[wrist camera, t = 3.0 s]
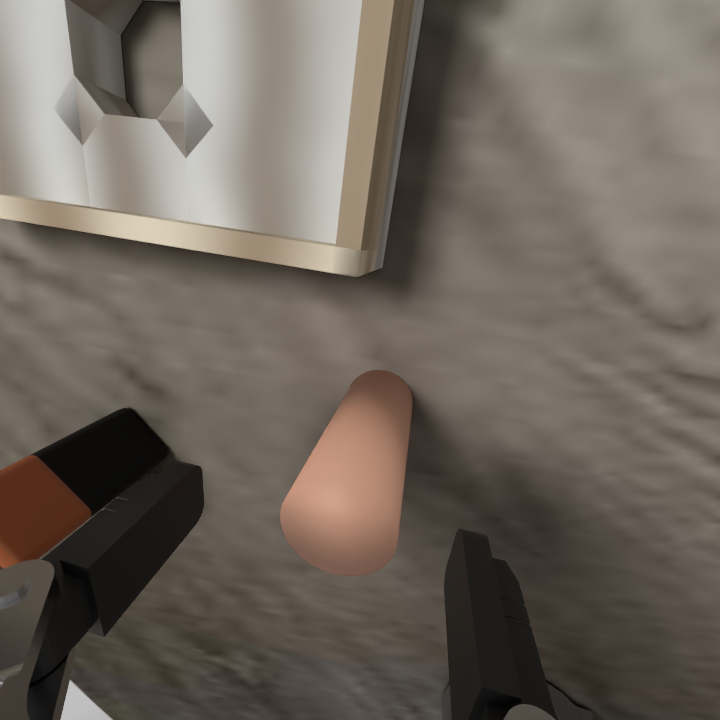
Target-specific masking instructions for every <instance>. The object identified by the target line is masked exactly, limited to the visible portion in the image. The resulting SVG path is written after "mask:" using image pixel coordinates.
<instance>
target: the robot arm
mask: <svg viewBox="0 0 720 720" xmlns="http://www.w3.org/2000/svg"><path fill="white" fill-rule="evenodd" d="M203 507H204V494H203V477H202V469H201V467H200V466H197V465H193V464H189V463H185V462H181V461H174V462H172V463H171V464H170V465H168V466H167V467H166V468H165V469H164V470H163V471H162V472H160V473H159V474H158V475H157V474H152V475H150V476H148V477H146V478H144V479H142V480H140V481H138V482H136V483H134V484H133V485H131V486H130V487H129V488H128V489H127V490H125V491H124V492H123V493H122V494H121V495H119V496H118V499H114V500H113V501H112V502H111V503H110V504H108V505H107V506H106V507H105V509H104V510H103V511H102V510H101V511H100V512H99V513H98V514H96V515H95V516H94V517H93V518H91V519H90V520H89V521H88V522H87V523H85V524H84V525H83V526H82V527H81V528H79V529H78V530H77V531H76V532H75V533H73V534H72V535H71V536H70V537H68V538H67V539H66V540H65V541H64V542H62V543H61V544H60V545H59V546H58V547H56V548H55V549H54V550H53V551H51V552H50V553H49V554H48V555H46V556H45V557H44V558H42V559H41V560H28V561H23V562H20V563H16V564H14V565H11V566H9V567H6V568H4V569H2V570H0V720H60V719H61V714H62V710H63V706H64V701H65V697H66V693H67V689H68V684H69V680H70V676H71V672H72V668H73V663H74V659H75V655H76V644H77V643H78V642H79V641H80V639H81V638H82V637H83V636H84V635H85V634H86V632H87V631H88V632H91V633H94V634H97V635H100V636H103V637H105V635H106V634H107V633H108V632H109V630H110V629H111V628H112V627H113V625H114V624H115V623H116V622H117V621H118V619H119V618H120V617H121V616H122V614H123V613H124V612H125V611H126V610H127V608H128V607H129V606H130V605H131V603H132V602H133V601H134V600H135V598H136V597H137V596H138V595H139V594H140V592H141V591H142V590H143V589H144V587H145V586H146V585H147V584H148V583H149V581H150V580H151V579H152V578H153V576H154V575H155V574H156V573H157V571H158V570H159V569H160V568H161V567H162V565H163V564H164V563H165V562H166V560H167V559H168V558H169V557H170V556H171V554H172V553H173V552H174V551H175V549H176V548H177V547H178V546H179V544H180V543H181V542H182V541H183V540H184V538H185V537H186V536H187V535H188V533H189V532H190V531H191V530H192V529H193V527H194V526H195V525H196V523H197V522H198V520H199V518H200V516H201V514H202V511H203ZM444 593H445V610H446V627H447V645H448V662H449V680H450V685H448V687H447V688H446V690H445V692H444V694H443V699H442V715H443V720H594V717H593V714H592V712H591V711H588V710H585V709H582V708H580V707H577V706H575V705H574V704H573V703H572V702H571V701H570V700H569V699H568V698H567V697H566V696H565V695H564V694H563V693H561V692H560V691H558V690H557V689H555V688H554V687H552V686H551V685H549V684H547V683H546V679H545V676H544V672H543V668H542V665H541V661H540V658H539V654H538V650H537V647H536V643H535V640H534V636H533V632H532V629H531V627H530V625H529V623H530V622H529V618H528V614H527V611H526V608H525V607H524V600H523V596H522V593H521V589H520V586H519V582H518V580H517V579H516V577H515V575H514V574H513V572H512V571H511V569H510V568H509V566H508V565H507V563H506V561H503V560H499V559H495V558H492V555H491V550H490V545H489V541H488V538H487V536H486V535H484V534H479V533H475V532H471V531H467V530H463V529H458V531H457V533H456V536H455V540H454V543H453V546H452V550H451V553H450V556H449V560H448V563H447V567H446V572H445V583H444Z"/></svg>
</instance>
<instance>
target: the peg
mask: <svg viewBox="0 0 720 720" xmlns="http://www.w3.org/2000/svg"><path fill="white" fill-rule="evenodd" d="M412 406H413V399H412V394H411V391H410V389H409V387H408V386H407V384H406V383H405V382H404V381H403V380H402V379H401V378H400V377H398V376H397V375H395V374H393V373H390V372H387V371H382V370H374V371H369V372H366V373H363V374H362V375H360V376H359V377H357V378H356V379H355V380H354V382H353V383H352V384H351V386H350V388H349V390H348V391H347V393H346V395H345V396H344V398H343V400H342V402H341V403H340V405H339V407H338V409H337V410H336V412H335V414H334V415H333V417H332V419H331V421H330V422H329V424H328V426H327V427H326V429H325V431H324V433H323V434H322V436H321V438H320V440H319V441H318V443H317V445H316V446H315V448H314V450H313V452H312V453H311V455H310V457H309V458H308V460H307V462H306V464H305V465H304V467H303V469H302V471H301V472H300V474H299V476H298V477H297V479H296V481H295V483H294V484H293V486H292V488H291V490H290V491H289V493H288V495H287V496H286V498H285V500H284V502H283V504H282V507H281V513H280V521H281V527H282V530H283V533H284V535H285V537H286V539H287V541H288V543H289V544H290V546H291V547H292V548H293V549H294V550H295V552H296V553H297V554H298V555H299V556H301V557H302V558H303V559H304V560H306V561H307V562H308V563H310V564H311V565H313V566H315V567H317V568H319V569H321V570H323V571H326V572H329V573H332V574H336V575H342V576H361V575H367V574H370V573H373V572H375V571H377V570H379V569H381V568H382V567H384V566H385V565H386V564H387V563H388V562H389V561H390V560H391V559H392V557H393V555H394V553H395V551H396V548H397V544H398V536H399V527H400V517H401V508H402V499H403V490H404V480H405V471H406V462H407V453H408V443H409V434H410V425H411V416H412Z"/></svg>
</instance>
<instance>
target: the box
mask: <svg viewBox="0 0 720 720" xmlns="http://www.w3.org/2000/svg"><path fill="white" fill-rule="evenodd" d="M142 1H143V0H0V218H3V219H9V220H15V221H21V222H27V223H33V224H40V225H46V226H52V227H58V228H64V229H70V230H76V231H82V232H88V233H94V234H100V235H106V236H112V237H118V238H124V239H130V240H136V241H142V242H148V243H154V244H160V245H166V246H172V247H178V248H184V249H190V250H196V251H203V252H209V253H215V254H221V255H227V256H233V257H239V258H245V259H251V260H257V261H263V262H269V263H275V264H281V265H287V266H293V267H299V268H305V269H311V270H317V271H323V272H329V273H335V274H341V275H347V276H353V277H359V276H361V275H364V274H367V273H369V272H372V271H375V270H378V269H380V268H382V267H383V261H384V255H385V248H386V242H387V236H388V229H389V223H390V217H391V210H392V204H393V198H394V191H395V185H396V179H397V172H398V166H399V160H400V153H401V147H402V141H403V134H404V128H405V122H406V115H407V109H408V103H409V96H410V90H411V84H412V77H413V71H414V65H415V58H416V52H417V46H418V39H419V33H420V27H421V20H422V14H423V8H424V1H425V0H144V1H164V2H181V31H182V60H183V85H182V87H181V88H180V89H179V90H178V92H177V93H176V94H175V96H174V97H173V98H172V100H171V101H170V102H169V104H168V105H167V106H166V108H165V109H164V110H163V112H162V113H161V114H160V116H159V117H158V118H157V120H156V119H147V118H139V117H138V115H137V114H136V113H135V111H134V110H133V109H132V107H131V106H130V105H129V104H128V102H127V101H126V95H125V83H124V71H123V59H122V47H121V34H122V32H123V31H124V29H125V28H126V26H127V25H128V23H129V21H130V20H131V18H132V17H133V15H134V14H135V12H136V10H137V9H138V7H139V6H140V4H141V3H142Z"/></svg>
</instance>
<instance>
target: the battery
mask: <svg viewBox="0 0 720 720" xmlns="http://www.w3.org/2000/svg"><path fill="white" fill-rule="evenodd" d="M167 454H168V452H167V450H166V448H165V447H164V446H163V445H162V444H161V443H160V442H159V441H158V440H157V439H156V438H155V437H154V435H153V434H152V433H151V432H150V431H149V430H148V429H147V428H146V427H145V426H144V425H143V424H142V422H141V421H140V420H139V419H138V418H137V417H136V416H135V415H134V414H133V413H132V412H131V411H130V410H129V409H127V408H123V409H120V410H117V411H115V412H113V413H111V414H109V415H108V416H106V417H104V418H102V419H100V420H98V421H96V422H94V423H92V424H90V425H88V426H86V427H84V428H82V429H80V430H78V431H76V432H74V433H72V434H70V435H69V436H67V437H65V438H63V439H61V440H59V441H57V442H55V443H53V444H51V445H49V446H47V447H45V448H43V449H41V450H39V451H37V452H35V453H33V454H31V455H30V456H28V457H26V458H24V459H22V460H20V461H18V462H16V463H14V464H12V465H10V466H8V467H6V468H4V469H2V470H0V570H2V569H4V568H6V567H9V566H11V565H14V564H16V563H20V562H23V561H28V560H38V559H39V558H40V557H41V556H43V555H44V554H45V553H46V552H48V551H49V550H50V549H51V548H53V547H54V546H55V545H57V544H58V543H59V542H60V541H62V540H63V539H64V538H65V537H67V536H68V535H69V534H70V533H72V532H73V531H74V530H76V529H77V528H78V527H79V526H81V525H82V524H83V523H84V522H86V521H87V520H88V519H89V518H91V517H92V516H93V515H95V514H96V513H97V512H98V511H100V510H101V509H102V508H103V507H105V506H106V505H107V504H109V503H110V502H111V501H112V500H114V499H115V498H116V497H117V496H119V495H120V494H121V493H122V492H124V491H125V490H126V489H128V488H129V487H130V486H131V485H133V484H134V483H135V482H136V481H138V480H139V479H140V478H141V477H143V476H144V475H145V474H147V473H148V472H149V471H150V470H152V469H153V468H154V467H155V466H157V465H158V464H159V463H160V462H162V461H163V460H164V459H165V458H166V456H167Z"/></svg>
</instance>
